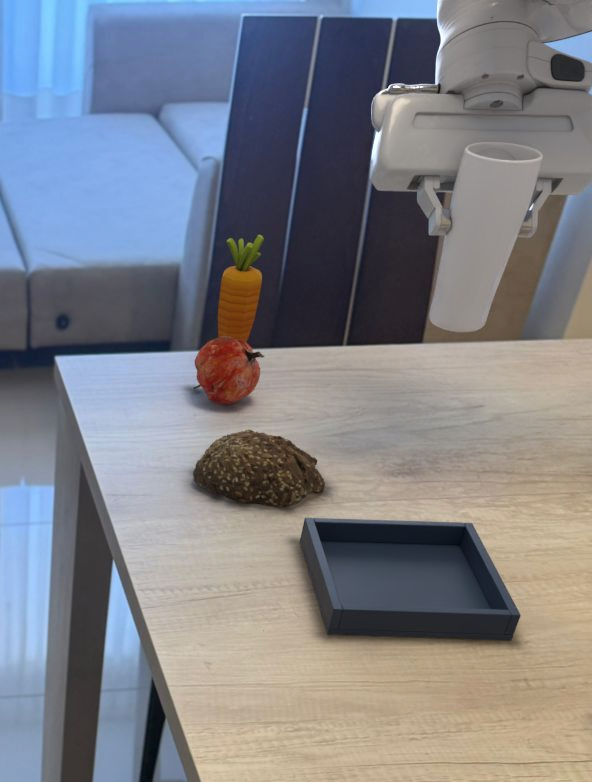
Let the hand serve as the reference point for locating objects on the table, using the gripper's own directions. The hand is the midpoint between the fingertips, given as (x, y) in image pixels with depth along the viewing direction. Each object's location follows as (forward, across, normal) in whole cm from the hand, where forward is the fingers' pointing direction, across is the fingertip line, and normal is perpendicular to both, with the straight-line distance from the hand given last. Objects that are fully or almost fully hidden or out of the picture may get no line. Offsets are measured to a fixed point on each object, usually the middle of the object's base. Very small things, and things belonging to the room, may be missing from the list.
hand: (483, 233), depth 105 cm
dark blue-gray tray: (+33, -7, 0) cm, 34 cm away
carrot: (-2, -17, +35) cm, 39 cm away
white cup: (+6, 0, +6) cm, 9 cm away
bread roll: (+19, -17, +14) cm, 29 cm away
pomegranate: (+5, -19, +28) cm, 34 cm away
